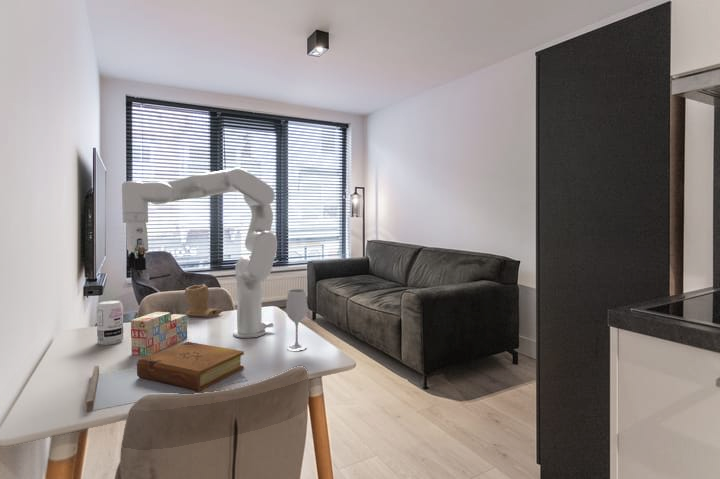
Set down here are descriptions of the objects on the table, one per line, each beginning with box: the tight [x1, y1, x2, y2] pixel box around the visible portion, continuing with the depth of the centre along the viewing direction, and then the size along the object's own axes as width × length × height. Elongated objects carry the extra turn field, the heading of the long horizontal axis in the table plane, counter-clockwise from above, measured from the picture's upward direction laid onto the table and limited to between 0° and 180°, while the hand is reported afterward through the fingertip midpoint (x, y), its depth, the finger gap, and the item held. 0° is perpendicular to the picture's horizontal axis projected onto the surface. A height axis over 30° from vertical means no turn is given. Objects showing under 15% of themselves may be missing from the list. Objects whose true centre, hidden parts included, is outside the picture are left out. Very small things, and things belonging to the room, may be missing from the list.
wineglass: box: [285, 288, 308, 349], centre depth 143 cm, size 8×8×21 cm
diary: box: [136, 341, 245, 392], centre depth 119 cm, size 23×19×6 cm
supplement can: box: [96, 299, 124, 346], centre depth 148 cm, size 8×8×15 cm
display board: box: [86, 365, 248, 413], centre depth 116 cm, size 38×26×3 cm
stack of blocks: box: [130, 311, 188, 357], centre depth 144 cm, size 21×6×12 cm, turn 168°
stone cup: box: [184, 283, 223, 318], centre depth 188 cm, size 15×12×15 cm
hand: (136, 268), depth 135 cm, fingers open, 9 cm apart
